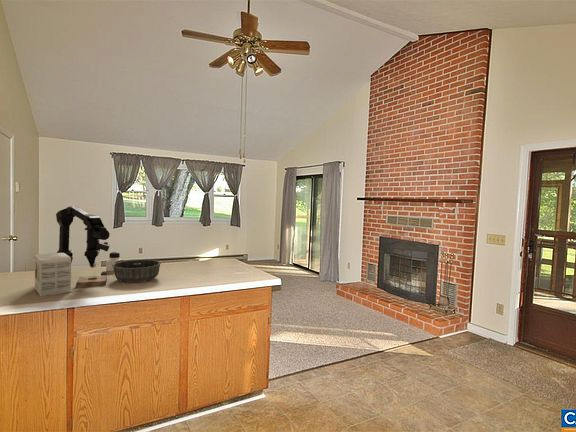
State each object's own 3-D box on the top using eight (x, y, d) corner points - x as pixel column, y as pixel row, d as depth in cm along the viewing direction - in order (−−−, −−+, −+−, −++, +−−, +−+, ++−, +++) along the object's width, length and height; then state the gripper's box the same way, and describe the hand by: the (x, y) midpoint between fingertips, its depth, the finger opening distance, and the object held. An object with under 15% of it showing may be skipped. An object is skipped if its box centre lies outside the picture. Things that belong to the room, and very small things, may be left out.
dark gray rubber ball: (100, 277, 203) (100, 272, 203) (101, 276, 206) (101, 270, 206) (107, 277, 204) (107, 271, 204) (107, 276, 208) (107, 270, 207)
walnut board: (76, 287, 181) (76, 282, 181) (79, 281, 194) (79, 276, 194) (105, 285, 187) (105, 280, 187) (107, 279, 200) (107, 275, 200)
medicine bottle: (115, 271, 219) (115, 253, 219) (105, 271, 221) (106, 252, 220) (122, 269, 226) (123, 252, 226) (113, 268, 228) (113, 251, 227)
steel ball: (88, 268, 188) (88, 262, 188) (89, 267, 191) (89, 261, 191) (95, 268, 189) (95, 262, 189) (96, 266, 192) (96, 260, 192)
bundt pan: (102, 284, 189) (102, 266, 189) (126, 273, 216) (126, 258, 215) (148, 286, 188) (148, 269, 188) (167, 275, 215) (167, 260, 214)
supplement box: (33, 288, 176) (33, 254, 175) (64, 284, 185) (64, 252, 184) (39, 296, 163) (39, 259, 162) (71, 292, 173) (71, 257, 172)
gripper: (108, 240, 184) (107, 268, 185) (109, 236, 201) (109, 262, 202) (84, 240, 179) (84, 269, 180) (88, 236, 196) (88, 263, 197)
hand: (92, 266), depth 190 cm, fingers closed on steel ball, 3 cm apart
